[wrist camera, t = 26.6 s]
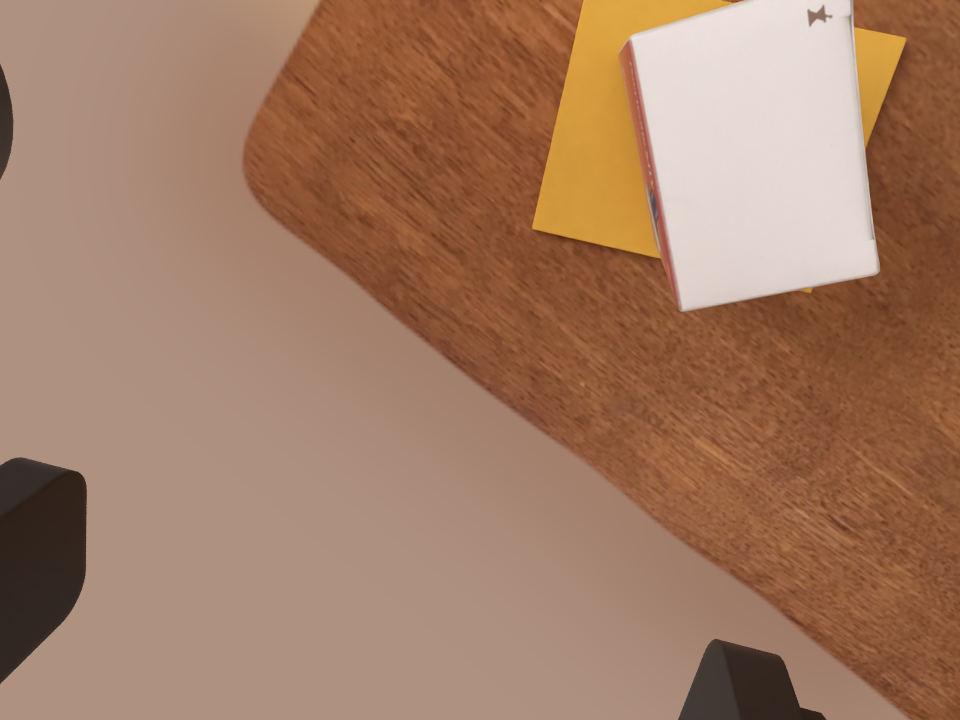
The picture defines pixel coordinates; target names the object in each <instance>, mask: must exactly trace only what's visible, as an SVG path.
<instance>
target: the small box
mask: <svg viewBox="0 0 960 720" xmlns="http://www.w3.org/2000/svg"><path fill="white" fill-rule="evenodd" d="M853 19H854V11H853V0H745V1H741V2H738V3H735V4H731V5H728V6H725V7H721V8H718V9H715V10H711V11H708V12H705V13H701V14H698V15H695V16H692V17H688V18H685V19H682V20H678V21H675V22H672V23H669V24H665V25H662V26H659V27H655V28H652V29H649V30H645V31H642V32H638V33H635V34H633V35H631V36H630V37H629V39H628V40H627V41H626V43H625V44H624V46H623V47H622V48H621V50H620V51H619V53H618V60H619V64H620V68H621V73H622V78H623V82H624V86H625V90H626V95H627V100H628V105H629V110H630V115H631V120H632V125H633V131H634V136H635V141H636V147H637V152H638V157H639V163H640V168H641V174H642V179H643V185H644V190H645V195H646V201H647V206H648V212H649V217H650V222H651V228H652V233H653V238H654V242H655V245H656V247H657V249H658V251H659V254H660V257H661V261H662V263H663V266H664V269H665V271H666V274H667V277H668V281H669V283H670V286H671V289H672V291H673V294H674V297H675V300H676V303H677V306H678V309H679V311H681V312H687V311H692V310H697V309H703V308H708V307H713V306H718V305H724V304H729V303H734V302H740V301H745V300H750V299H755V298H761V297H766V296H771V295H776V294H781V293H786V292H792V291H797V290H802V289H807V288H812V287H818V286H823V285H828V284H833V283H838V282H843V281H848V280H853V279H858V278H864V277H869V276H874V275H877V274H878V272H879V271H880V264H879V258H878V253H877V246H876V240H875V234H874V226H873V219H872V211H871V202H870V193H869V183H868V174H867V164H866V155H865V146H864V136H863V126H862V116H861V106H860V95H859V84H858V74H857V64H856V49H855V37H854V20H853Z"/></svg>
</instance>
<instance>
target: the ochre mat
mask: <svg viewBox="0 0 960 720" xmlns="http://www.w3.org/2000/svg"><path fill="white" fill-rule="evenodd" d="M731 4H735V3H732V2H728V1H723V0H583V5H582V9H581V14H580V18H579V22H578V27H577V31H576V36H575V40H574V44H573V49H572V53H571V58H570V62H569V66H568V71H567V75H566V80H565V84H564V89H563V93H562V97H561V102H560V106H559V111H558V115H557V119H556V124H555V128H554V133H553V137H552V141H551V146H550V150H549V155H548V159H547V163H546V168H545V172H544V177H543V181H542V185H541V190H540V194H539V199H538V203H537V208H536V212H535V216H534V221H533V225H532V229H533V230H538V231H542V232H547V233H551V234H555V235H560V236H564V237H568V238H573V239H577V240H581V241H586V242H590V243H594V244H599V245H603V246H607V247H612V248H616V249H620V250H625V251H629V252H633V253H638V254H642V255H646V256H651V257H655V258H659V259H661V257H660V254H659V251H658V249H657V247H656V245H655V242H654V238H653V233H652V228H651V222H650V217H649V212H648V206H647V201H646V195H645V190H644V185H643V179H642V174H641V168H640V163H639V157H638V152H637V147H636V141H635V136H634V131H633V125H632V120H631V115H630V110H629V105H628V100H627V95H626V90H625V86H624V82H623V78H622V73H621V68H620V64H619V60H618V53H619V51H620V50H621V48H622V47H623V46H624V44H625V43H626V41H627V40H628V39H629V37H630V36H631V35H633V34H635V33H638V32H642V31H645V30H649V29H652V28H655V27H659V26H662V25H665V24H669V23H672V22H675V21H678V20H682V19H685V18H688V17H692V16H695V15H698V14H701V13H705V12H708V11H711V10H715V9H718V8H721V7H725V6H728V5H731ZM854 37H855V49H856V64H857V74H858V84H859V95H860V106H861V116H862V126H863V136H864V146H865V148H866V146H867V143H868V140H869V138H870V135H871V133H872V130H873V127H874V125H875V122H876V119H877V117H878V114H879V111H880V109H881V106H882V103H883V101H884V98H885V95H886V93H887V90H888V87H889V85H890V82H891V79H892V77H893V74H894V72H895V69H896V66H897V64H898V61H899V58H900V56H901V53H902V50H903V48H904V45H905V42H906V40H907V38H905V37H900V36H895V35H890V34H885V33H880V32H876V31H871V30H866V29H861V28H856V27H854ZM812 289H813V287H812V288H807V289H802V290H798V291H803V292H807V293H811V292H812Z"/></svg>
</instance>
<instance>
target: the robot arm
mask: <svg viewBox="0 0 960 720" xmlns="http://www.w3.org/2000/svg"><path fill="white" fill-rule="evenodd" d="M86 501H87V489H86V482H85V479H84V477H83V476H82V475H81V474H80V473H79V472H76V471H73V470H69V469H65V468H61V467H57V466H53V465H49V464H45V463H41V462H38V461H34V460H29V459H26V458H22V457H21V458H14V459H11V460H9V461H7V462H5V463H4V464H2V465H0V683H1V682H2V681H4V680H5V679H6V677H8V676H9V675H10V674H11V673H12V672H13V671H14V670H15V669H16V668H17V667H18V666H19V665H20V664H21V663H22V662H23V661H24V660H25V659H26V658H27V657H28V656H29V655H30V654H31V653H32V652H33V651H34V650H35V649H36V648H37V647H38V646H39V645H40V644H41V643H42V642H43V641H44V640H45V639H46V638H47V637H48V636H49V635H50V634H51V633H52V632H53V631H54V630H55V629H56V628H57V627H58V626H59V625H60V624H61V623H62V622H63V621H64V620H65V619H66V617H67V616H68V615H69V613H70V612H71V610H72V609H73V607H74V605H75V603H76V601H77V599H78V597H79V595H80V592H81V590H82V587H83V583H84V579H85V572H86ZM678 720H826V719H825V717H824V716H823V715H822V714H821V713H819V712H815V711H811V710H808V709H804V708H800V706H799V703H798V700H797V697H796V695H795V692H794V689H793V686H792V683H791V680H790V677H789V674H788V671H787V669H786V666H785V664H784V662H783V660H782V658H781V657H780V656H778V655H776V654H772V653H768V652H764V651H761V650H756V649H753V648H749V647H744V646H741V645H737V644H733V643H729V642H725V641H722V640H718V639H714V640H713V641H711V642H710V644H709V645H708V647H707V648H706V651H705V653H704V655H703V658H702V660H701V663H700V665H699V668H698V671H697V673H696V676H695V678H694V681H693V683H692V686H691V688H690V691H689V694H688V696H687V699H686V702H685V704H684V706H683V709H682V711H681V714H680V717H679V719H678Z"/></svg>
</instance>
